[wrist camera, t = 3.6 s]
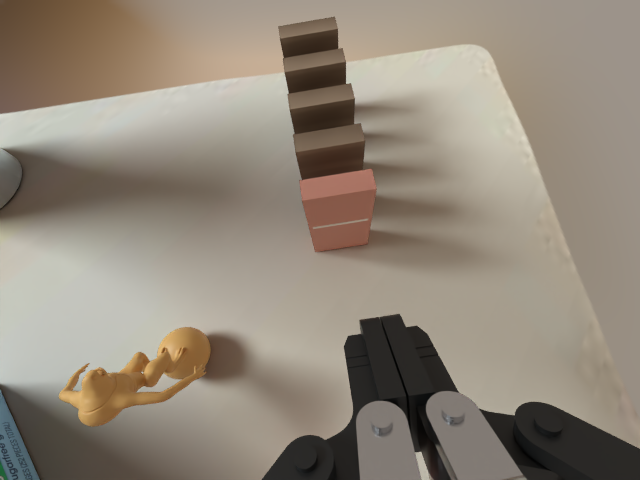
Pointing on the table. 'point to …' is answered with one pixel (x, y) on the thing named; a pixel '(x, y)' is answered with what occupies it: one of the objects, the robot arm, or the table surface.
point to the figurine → (139, 378)
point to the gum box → (13, 449)
